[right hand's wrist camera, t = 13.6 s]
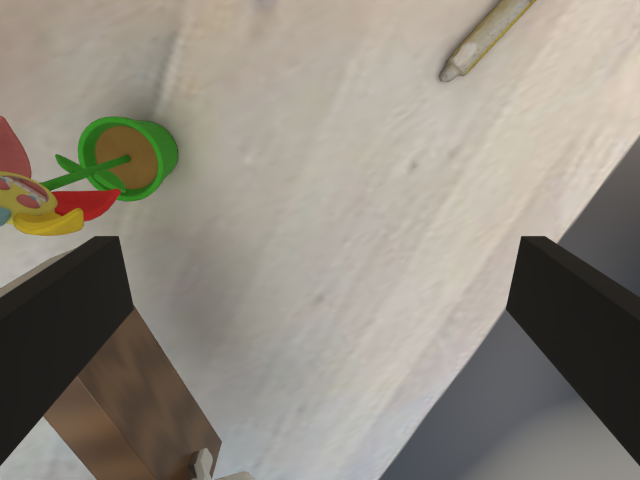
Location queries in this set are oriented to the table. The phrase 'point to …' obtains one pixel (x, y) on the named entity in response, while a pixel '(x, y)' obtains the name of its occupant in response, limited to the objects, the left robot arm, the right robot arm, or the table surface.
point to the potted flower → (84, 175)
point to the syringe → (484, 37)
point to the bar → (130, 408)
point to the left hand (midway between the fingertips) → (177, 461)
